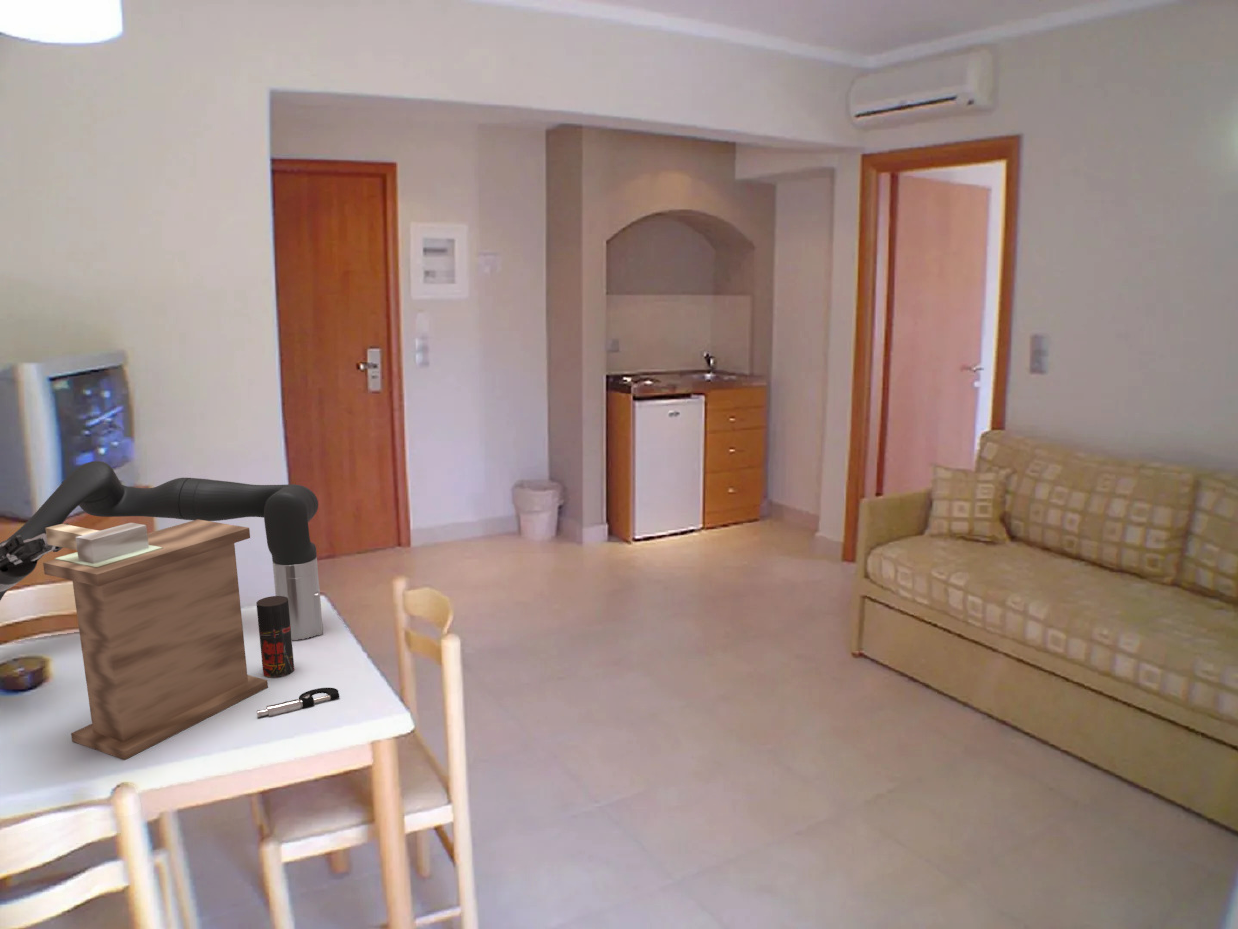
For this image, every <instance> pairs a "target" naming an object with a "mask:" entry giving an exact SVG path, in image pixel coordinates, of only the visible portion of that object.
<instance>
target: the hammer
mask: <svg viewBox="0 0 1238 929" xmlns="http://www.w3.org/2000/svg"><path fill="white" fill-rule="evenodd" d="M45 529H46V536H47V543H48V545H53V546H58V547H63V548H64V549H67V550H68V549H69V550H73V551H76V552H78V560H79V561H84V562H89V563H93V564H94V563H98V562H101V561H105V560H108V559H111V558H115V557H118V556H122V555H125V554H128V553H132V552H135V551H138V550H142V549H145V548H149V544H148V536H147V533H148V528H147V525H146V524H141V523H136V522H128V523H123V524H121V525H116V526H113V527H110V528H105V529H102V530H97V529H92V528H87V527H82V526H81V527H80V526H75V525H71V524H69V525H66V523H63V524H59V525H55V526H51V527H47V528H45ZM63 548H62V549H63Z"/></svg>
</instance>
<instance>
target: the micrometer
mask: <svg viewBox="0 0 1238 929" xmlns="http://www.w3.org/2000/svg"><path fill="white" fill-rule="evenodd" d="M325 693H326V695H323V696H319V697H314V695H317V694H325ZM339 698H340V693H339V690H338V688H335V687H321V688H319V687H318V688H314V689H311V690H307V691H304V692H302V693H301V694H300V695H299V697H298V698H297V699H292V700H287V701H286V700H285V701H283V702H278V703H275V704H270V705H266V708H265V709H264V708H263V709H258V710H257V711H256V716H257V719H259V718H262V717H265V716H268V717H269V718H270V717H274V716H275V717H276V716H279V715H282V714H288V713H291V712H295V711H299V710H301V709H307V708H310V707H314V706H315V704H317V703H320V702H325V701H328V700H330V701H331V700H335V699H339Z"/></svg>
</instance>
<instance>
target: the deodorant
mask: <svg viewBox="0 0 1238 929" xmlns="http://www.w3.org/2000/svg"><path fill="white" fill-rule="evenodd" d="M256 613H257V614H256V616H257V623H258V624H257V625H258V633H259V634H258V635H259V643H260V644H259V645H260V653H261V654H260V655H261V664H262V665H261V666H262V675H263V676H264V677H265V678H268V679H275V678H277V679H278V678H283V677H286V676H288V675H289V676H290V675H291V674H292V673H293V672H294V671H295V663H294V662H295V660H294V651H293V649H294V648H293V640H292V637H291V626H290V614H289V603H288V598H287V597H284V596H276V595H272V596H267V597H263V598H261V599H259V600H257V601H256Z"/></svg>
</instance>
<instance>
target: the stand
mask: <svg viewBox="0 0 1238 929" xmlns="http://www.w3.org/2000/svg"><path fill="white" fill-rule="evenodd" d="M147 536H148V544H149V548H145V549H142V550H138V551H135V552H132V553H128V554H125V555H122V556H118V557H115V558H111V559H108V560H105V561H101V562H98V563H94V564H93V563H89V562H84V561H79V560H78V552H77V551H76V552H72V553H69V554H64V555H62V556H61V555H60V556H58V557H55V558H54V559H51V560H47V561H44V562H43V563H42V566H43V571H44V572H43V573H44V575H47V576H50V577H55V578H60V579H64V580H68V581H69V580H70V581H72V587H73V596H74V601H75V602H74V603H75V610H76V615H77V617H76V618H77V624H78V632H79V639H80V645H81V653H82V660H83V661H82V662H83V667H84V674H85V675H84V676H85V682H86V683H85V684H86V689H87V696H88V704H89V712H90V717H91V723H90V724H88V725H86V726H83V727H82V728H79V729H77V730H75V731H72V732H71V733H70V736H71V742H73V743H77V744H79V745H82V746H84V747H87V748H90V749H93V750H96V751H99V752H101V753H104V754H108V755H111V756H113V757H116V758H118V759H122V760H123V761H126V760H128V759H129V758H132V757H133V756H136V755H138V754H139V753H141V752H144V751H145V750H147V749H149V748H151V747H153V746H156V745H157V744H160V743H161V742H163V741H166V740H168V739H169V738H171V737H173V736H175V735H177V734H178V733H181V732H183V731H185V730H187V729H189V728H191V727H192V726H194V725H197V724H198V723H200V722H202V721H205V720H207V719H208V718H211V717H212V716H214V715H217V714H218V713H220V712H222V711H224V710H227V709H228V708H230V707H232V706H234V705H236V704H239V703H240V702H242V701H244V700H246V699H248V698H250V697H252V696H254V695H256V694H257V693H261V692H262V691H263V690H265V689H267V688H269V684H268V680H267V679H264V678H261V677H257V676H252V675H249V674H248V668H247V659H246V657H247V656H246V649H245V648H246V647H245V639H244V637H245V636H244V628H243V618H242V608H241V597H240V596H241V595H240V586H239V578H238V565H237V557H236V548H235V547H236V546H235V544H236V543H239V542H242V541H245V540H248V539H251V531H250V527H247V526H240V525H234V524H228V523H222V522H218V521H205V520H199V519H198V520H189V521H187V522H183V523H181V524H176V525H173V526H170V527H166V528H162V529H159V530H156V531H151V532H149V533H148V532H147Z"/></svg>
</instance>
